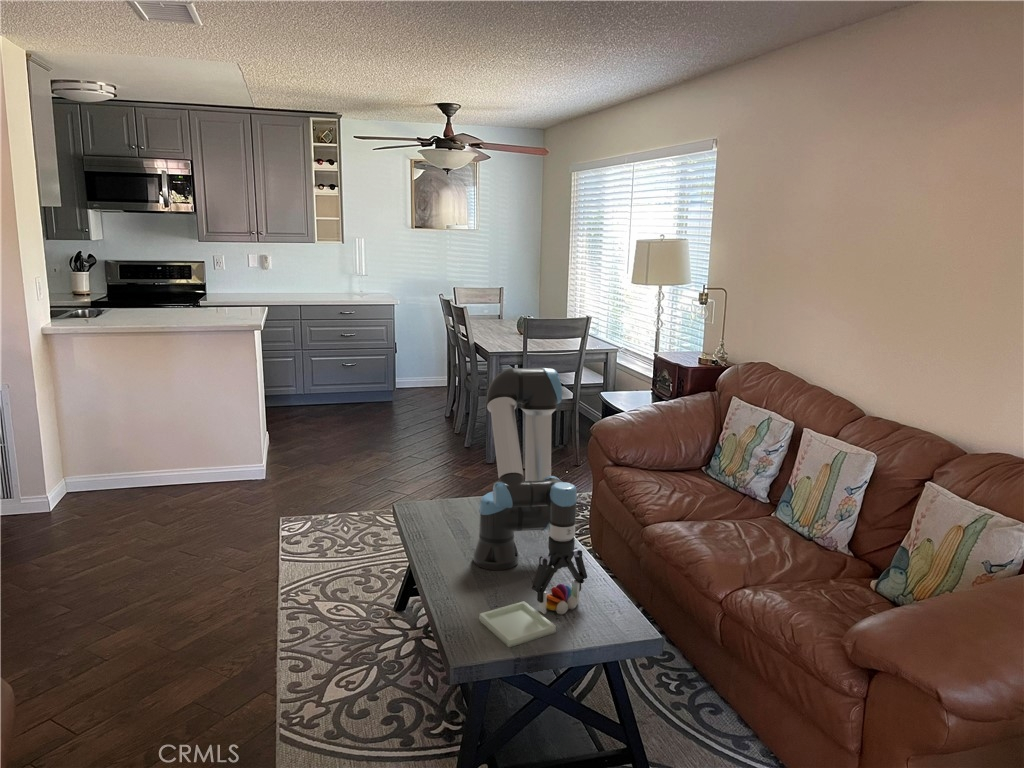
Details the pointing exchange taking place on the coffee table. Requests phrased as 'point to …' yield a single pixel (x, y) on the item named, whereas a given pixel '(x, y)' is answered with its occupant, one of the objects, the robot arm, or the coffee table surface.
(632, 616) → the coffee table surface
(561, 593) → the rainbow lobed toy
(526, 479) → the robot arm
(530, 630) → the tray
